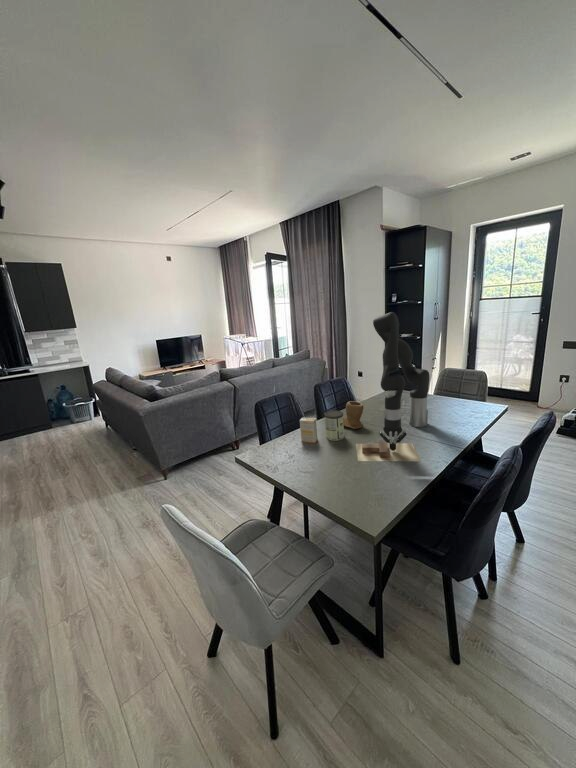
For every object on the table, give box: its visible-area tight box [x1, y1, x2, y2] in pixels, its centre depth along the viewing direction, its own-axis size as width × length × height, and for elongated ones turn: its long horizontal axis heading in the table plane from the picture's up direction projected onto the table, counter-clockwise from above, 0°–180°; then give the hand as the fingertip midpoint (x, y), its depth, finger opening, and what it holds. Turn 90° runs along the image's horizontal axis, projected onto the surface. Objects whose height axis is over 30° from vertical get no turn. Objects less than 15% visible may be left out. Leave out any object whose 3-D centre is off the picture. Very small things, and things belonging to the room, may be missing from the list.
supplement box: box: [299, 417, 319, 444], centre depth 169 cm, size 8×5×13 cm, turn 65°
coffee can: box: [324, 410, 345, 442], centre depth 171 cm, size 10×10×14 cm
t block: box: [361, 440, 389, 458], centre depth 151 cm, size 12×12×3 cm
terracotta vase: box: [343, 400, 364, 430], centre depth 185 cm, size 15×12×15 cm
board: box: [355, 442, 422, 462], centre depth 150 cm, size 28×18×1 cm, turn 81°
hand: (392, 449), depth 149 cm, fingers closed
